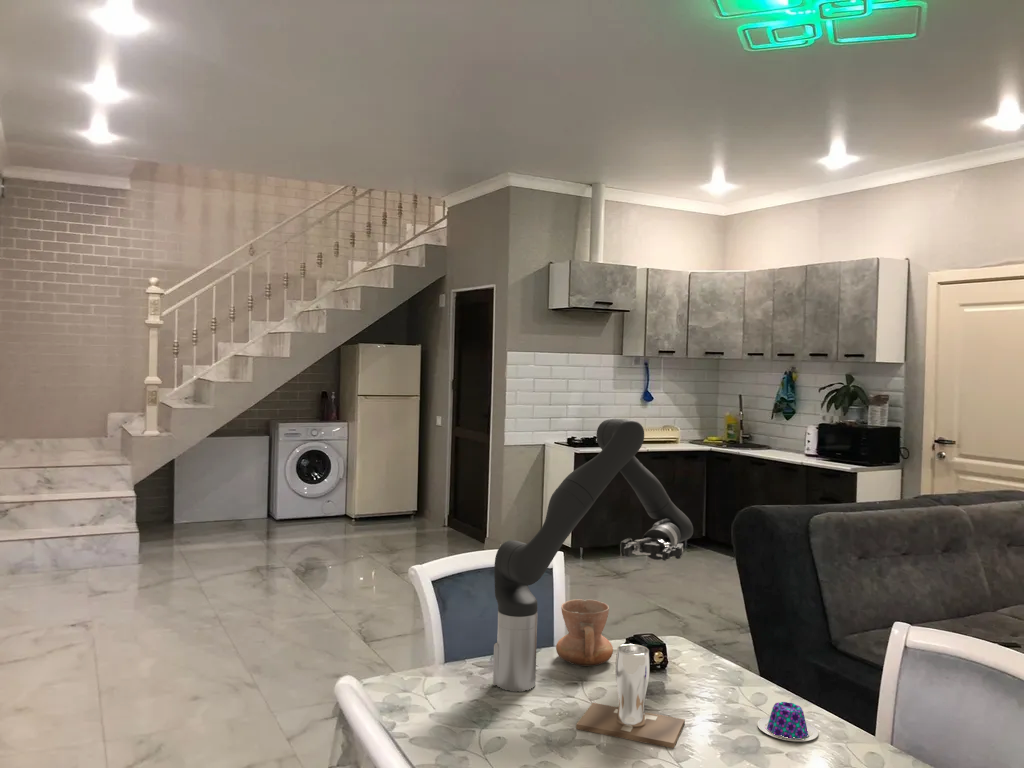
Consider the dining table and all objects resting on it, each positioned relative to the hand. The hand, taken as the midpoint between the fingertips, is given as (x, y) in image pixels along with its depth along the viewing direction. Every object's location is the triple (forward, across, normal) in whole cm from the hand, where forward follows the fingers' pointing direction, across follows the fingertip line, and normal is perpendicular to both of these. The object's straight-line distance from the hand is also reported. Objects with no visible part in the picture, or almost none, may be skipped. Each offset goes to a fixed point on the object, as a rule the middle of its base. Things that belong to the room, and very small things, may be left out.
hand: (645, 554), depth 183 cm
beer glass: (+18, +2, +31) cm, 36 cm away
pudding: (+6, +32, +32) cm, 46 cm away
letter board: (+19, +2, +32) cm, 37 cm away
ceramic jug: (-14, -18, +32) cm, 40 cm away
